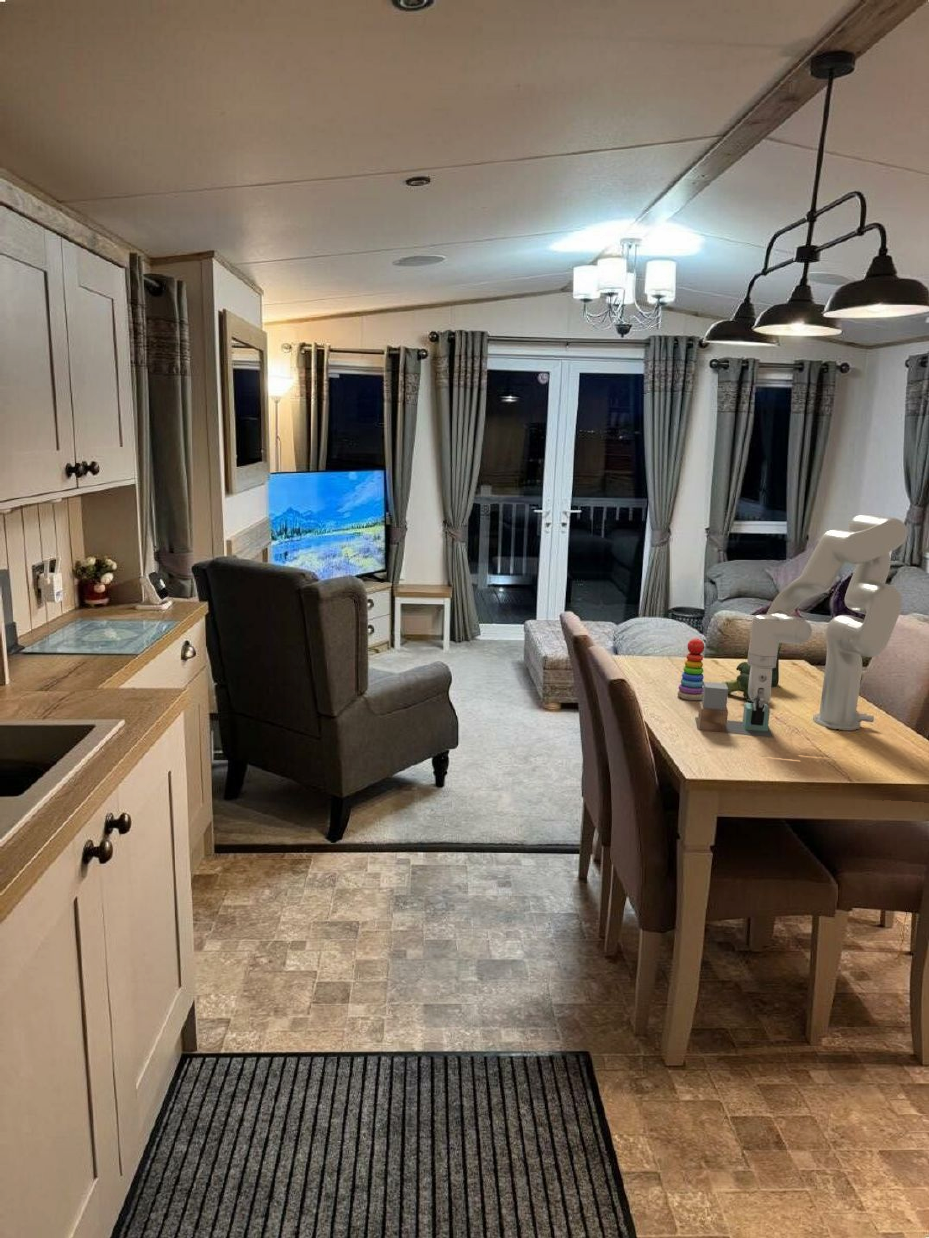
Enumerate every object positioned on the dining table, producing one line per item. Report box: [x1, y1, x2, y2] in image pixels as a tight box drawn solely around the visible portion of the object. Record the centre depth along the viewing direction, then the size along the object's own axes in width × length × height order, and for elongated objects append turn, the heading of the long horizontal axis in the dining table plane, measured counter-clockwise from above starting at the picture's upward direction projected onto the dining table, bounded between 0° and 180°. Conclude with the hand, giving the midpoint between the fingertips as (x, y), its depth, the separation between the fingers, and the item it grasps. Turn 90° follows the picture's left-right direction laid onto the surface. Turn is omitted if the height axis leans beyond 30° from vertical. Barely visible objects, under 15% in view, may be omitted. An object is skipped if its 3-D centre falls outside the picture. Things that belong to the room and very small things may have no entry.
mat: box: [694, 716, 775, 739], centre depth 239 cm, size 20×12×1 cm, turn 79°
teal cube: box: [741, 702, 771, 732], centre depth 239 cm, size 6×6×6 cm
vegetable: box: [721, 661, 751, 701], centre depth 270 cm, size 12×13×15 cm
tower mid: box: [701, 681, 729, 710], centre depth 236 cm, size 6×6×6 cm
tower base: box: [698, 701, 729, 733], centre depth 237 cm, size 7×7×6 cm
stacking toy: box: [677, 638, 705, 701], centre depth 266 cm, size 8×8×19 cm
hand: (754, 719), depth 239 cm, fingers open, 9 cm apart
